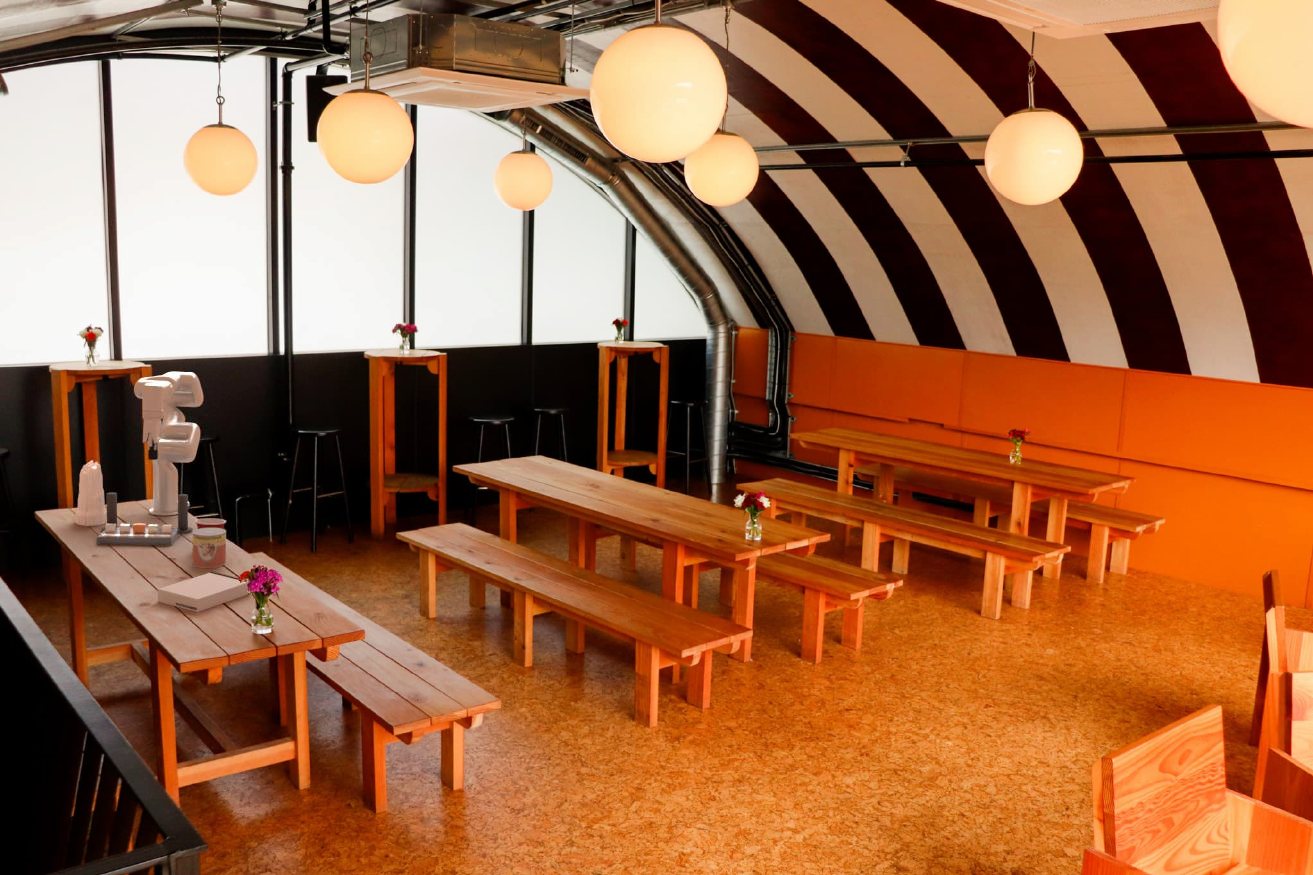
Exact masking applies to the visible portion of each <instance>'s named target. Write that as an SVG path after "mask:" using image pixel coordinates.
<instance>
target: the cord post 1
mask: <svg viewBox="0 0 1313 875" xmlns="http://www.w3.org/2000/svg"><path fill="white" fill-rule="evenodd" d="M106 524H116V527H120V525H118V494H117V492H107V493H106ZM101 528H102V529H101V533H102V532H103V531H104V530H105V529H106V526H103V527H101Z"/></svg>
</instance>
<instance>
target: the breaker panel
mask: <svg viewBox="0 0 1313 875" xmlns="http://www.w3.org/2000/svg"><path fill="white" fill-rule="evenodd" d="M119 526H120V527H116V524H107V523H105V527H106V529H105V530H104V531H103V532H102V531H101V533H99V534H98V535H97V536H96V545H98V546H99V545H102V546H103V545H105V546H110V545H111V546H112V545H113V546H117V545H119V546H172V545H173V544H174V543H175V542H176V541H177V539H178V538H179V537H180V536H181V534H180V528H178V527H174V528H173V524H163V525H162V526H161V527H159V524H148V526H147V527H146V531H145V532H133V527H131V523H120V525H119ZM175 540H176V541H175Z"/></svg>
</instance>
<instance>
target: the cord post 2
mask: <svg viewBox="0 0 1313 875" xmlns="http://www.w3.org/2000/svg"><path fill="white" fill-rule="evenodd" d="M188 502H189V495H188V494H184V493H181V494H178V514H177V528H180V535H186V534H190V533H193V528H192V527H189V526H188V525H189V506H188Z"/></svg>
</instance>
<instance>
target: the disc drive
mask: <svg viewBox="0 0 1313 875" xmlns="http://www.w3.org/2000/svg"><path fill="white" fill-rule="evenodd" d="M239 579H240V578H239V577H234V576H232V575H226V574H222V573H218V572H215V571H209V572H207V573H204V574H202V575H199V576H195V577H192V578H189V579H185V580H183V581H179V582H176V583H172V584H169V585H166V586H163V587H159V588H157V602H158V603H162V604H165V605H169V606H173V607H177V608H180V609H181V608H182V609H184V610H188V611H192V612H197V613H198V612H201V611H204V610H206V609H210V608H212V607H216V606H218V605H222V604H224V603H227V602H230V601H233V600H236V599H239V598H241V597H244V596H247V595H250V594H249V593H248V592H247V581H248V580H247V579H244V580H245V581H243V582H242V583H240V581H239Z"/></svg>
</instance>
